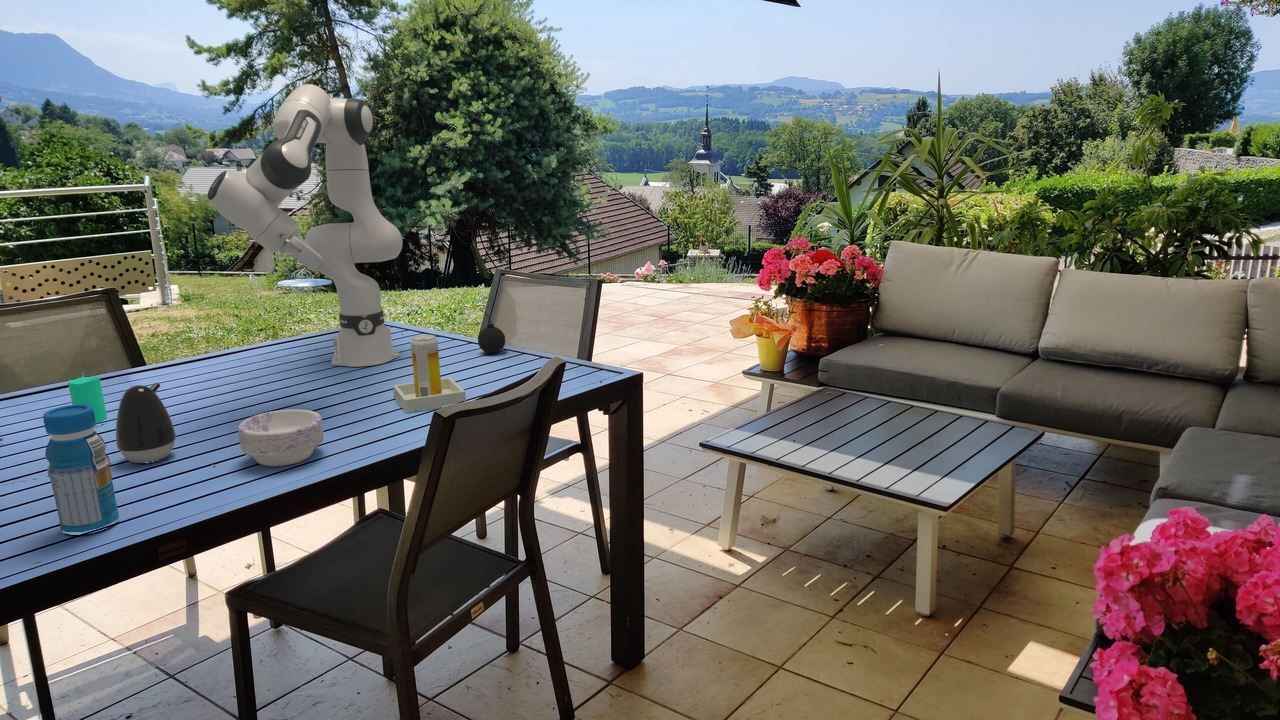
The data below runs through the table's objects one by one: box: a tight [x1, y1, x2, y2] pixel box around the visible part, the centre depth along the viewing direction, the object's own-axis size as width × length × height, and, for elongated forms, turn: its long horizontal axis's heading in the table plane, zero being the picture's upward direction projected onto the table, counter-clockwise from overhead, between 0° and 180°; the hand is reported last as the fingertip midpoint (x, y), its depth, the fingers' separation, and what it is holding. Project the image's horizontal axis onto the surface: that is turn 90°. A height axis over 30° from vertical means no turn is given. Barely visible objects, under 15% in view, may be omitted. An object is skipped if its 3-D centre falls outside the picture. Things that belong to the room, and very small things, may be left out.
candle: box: [67, 372, 108, 423], centre depth 190 cm, size 6×6×12 cm
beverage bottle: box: [42, 404, 120, 532], centre depth 137 cm, size 8×8×20 cm
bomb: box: [477, 312, 506, 355], centre depth 247 cm, size 8×8×12 cm
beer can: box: [410, 334, 442, 398], centre depth 201 cm, size 6×6×15 cm
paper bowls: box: [237, 409, 324, 467], centre depth 167 cm, size 15×15×8 cm
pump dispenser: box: [115, 382, 177, 464], centre depth 168 cm, size 10×10×15 cm
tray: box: [392, 377, 467, 414], centre depth 203 cm, size 14×14×3 cm
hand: (331, 273), depth 193 cm, fingers open, 8 cm apart
